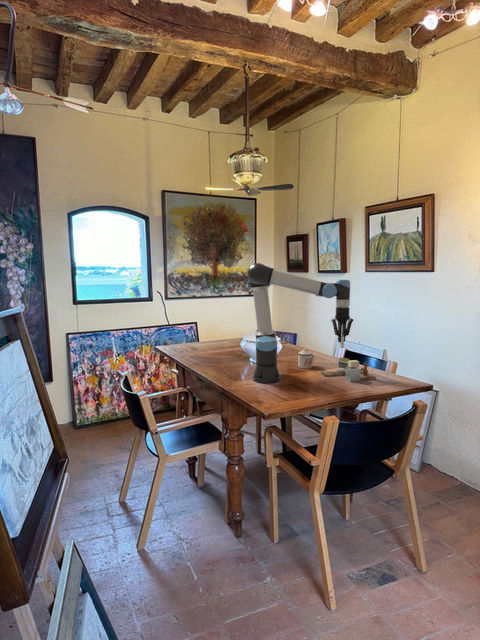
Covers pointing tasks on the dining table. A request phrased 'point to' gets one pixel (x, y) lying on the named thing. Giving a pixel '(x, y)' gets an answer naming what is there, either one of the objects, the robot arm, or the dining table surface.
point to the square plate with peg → (366, 374)
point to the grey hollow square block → (352, 373)
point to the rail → (338, 373)
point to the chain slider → (350, 363)
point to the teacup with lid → (305, 359)
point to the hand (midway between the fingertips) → (341, 347)
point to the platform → (343, 362)
